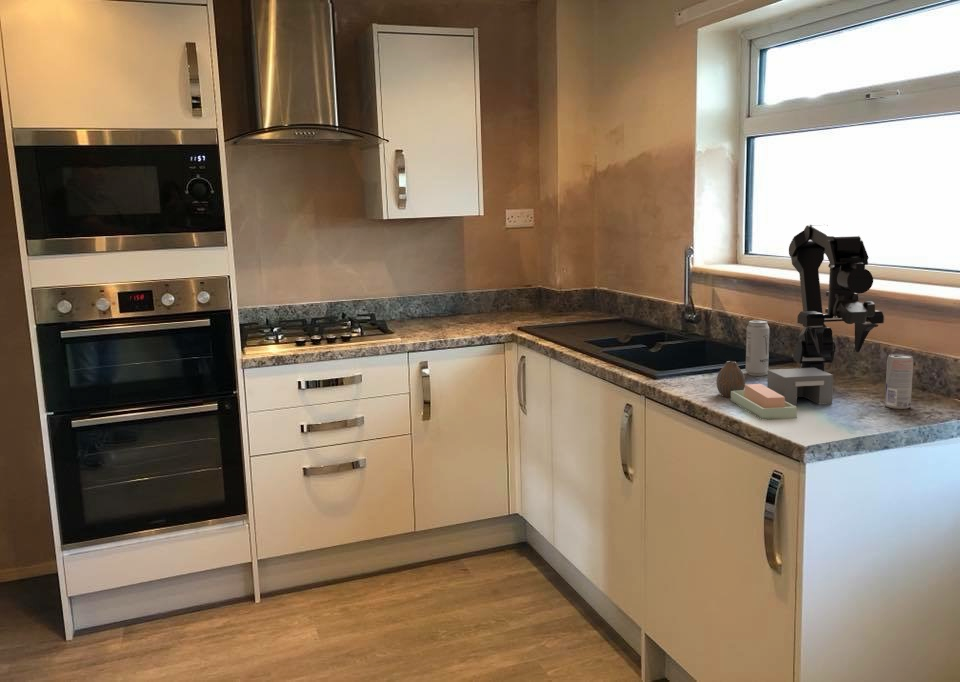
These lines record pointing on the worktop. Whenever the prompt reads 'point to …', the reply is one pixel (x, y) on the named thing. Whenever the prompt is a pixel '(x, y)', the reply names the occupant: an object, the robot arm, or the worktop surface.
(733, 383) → the vase
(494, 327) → the worktop surface
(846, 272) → the robot arm
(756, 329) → the energy drink can
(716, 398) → the worktop surface
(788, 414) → the tray
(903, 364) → the energy drink
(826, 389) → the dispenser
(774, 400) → the pink square pillar
